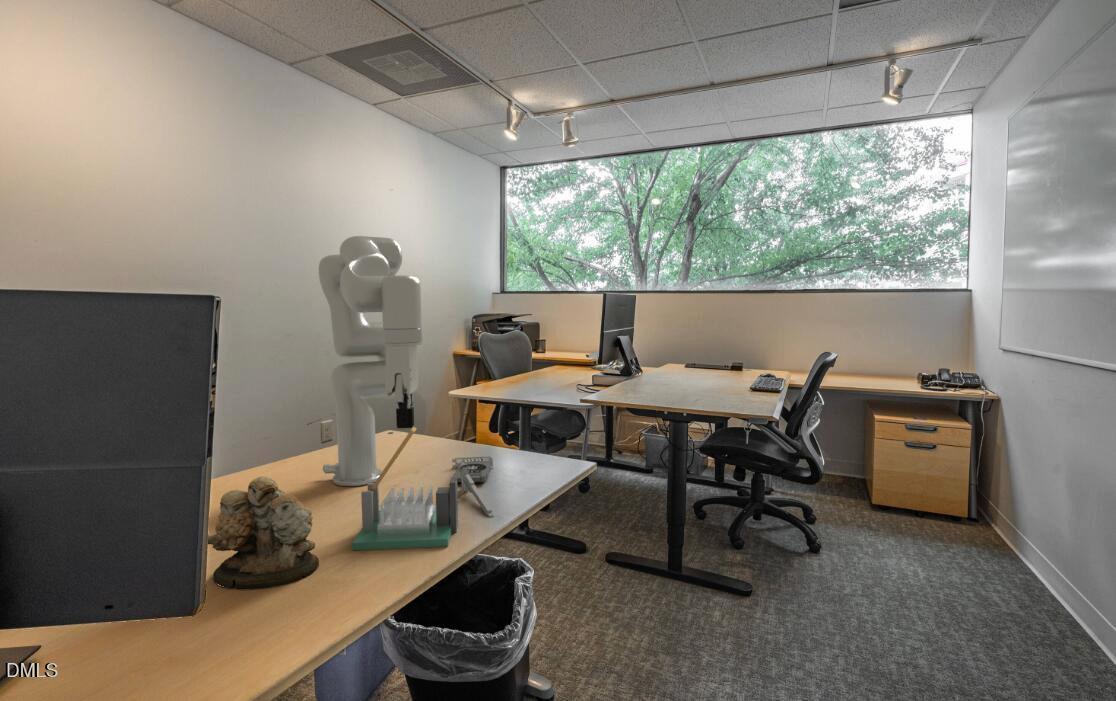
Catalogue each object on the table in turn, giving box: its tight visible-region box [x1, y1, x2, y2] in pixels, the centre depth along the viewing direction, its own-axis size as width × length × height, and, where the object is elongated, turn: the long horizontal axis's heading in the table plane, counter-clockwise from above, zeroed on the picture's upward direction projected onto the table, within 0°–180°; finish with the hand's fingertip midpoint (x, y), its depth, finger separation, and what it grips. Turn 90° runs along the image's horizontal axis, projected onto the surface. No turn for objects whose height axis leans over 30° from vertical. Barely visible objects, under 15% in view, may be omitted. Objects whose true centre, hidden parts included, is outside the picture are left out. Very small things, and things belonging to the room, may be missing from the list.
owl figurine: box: [207, 476, 320, 590], centre depth 92 cm, size 18×12×17 cm, turn 99°
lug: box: [435, 476, 459, 534], centre depth 110 cm, size 4×4×10 cm
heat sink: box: [377, 486, 436, 535], centre depth 110 cm, size 10×10×6 cm
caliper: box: [461, 467, 495, 518], centre depth 126 cm, size 20×1×6 cm, turn 28°
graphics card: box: [451, 456, 494, 483], centre depth 145 cm, size 17×4×12 cm
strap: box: [369, 426, 418, 494], centre depth 108 cm, size 17×3×1 cm
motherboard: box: [351, 482, 452, 551], centre depth 109 cm, size 18×16×10 cm
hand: (405, 427), depth 108 cm, fingers closed
